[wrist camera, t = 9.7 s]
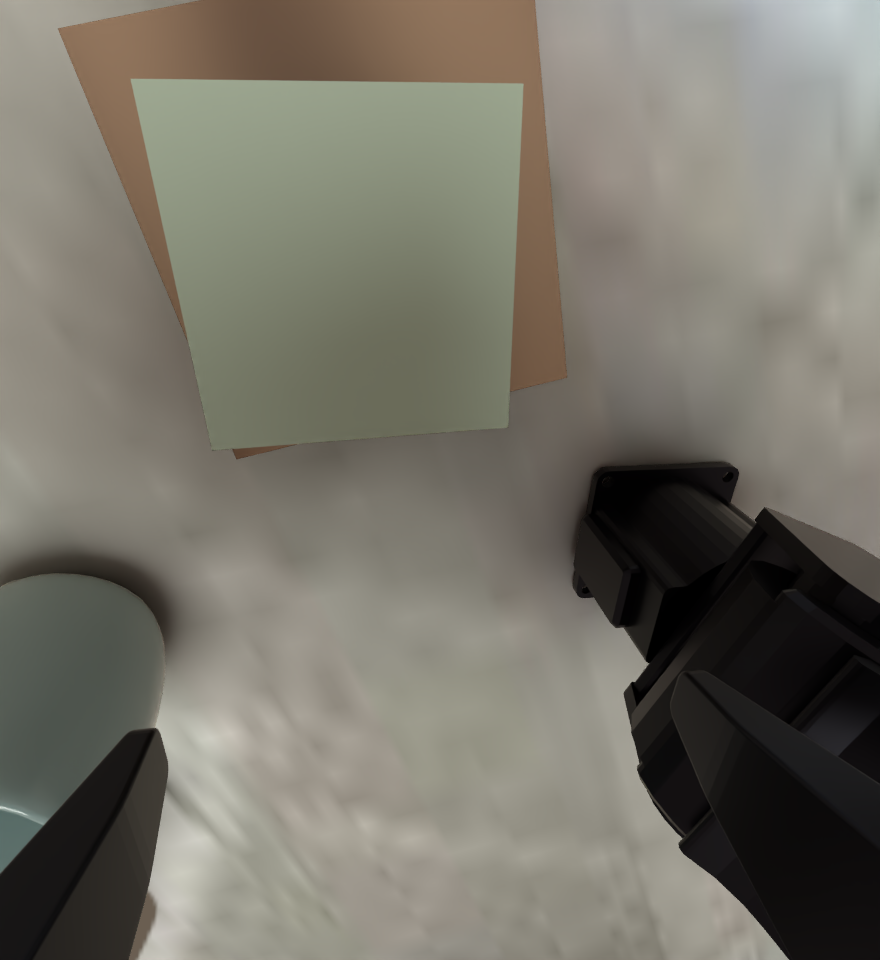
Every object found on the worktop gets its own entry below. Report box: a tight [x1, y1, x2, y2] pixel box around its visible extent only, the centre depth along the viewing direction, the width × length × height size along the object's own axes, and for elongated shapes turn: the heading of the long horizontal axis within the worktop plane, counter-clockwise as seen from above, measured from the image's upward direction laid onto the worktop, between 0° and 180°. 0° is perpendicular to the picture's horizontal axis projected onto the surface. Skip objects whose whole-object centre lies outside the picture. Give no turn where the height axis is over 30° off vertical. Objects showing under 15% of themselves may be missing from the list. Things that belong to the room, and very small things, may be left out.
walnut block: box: [58, 0, 567, 459], centre depth 15 cm, size 9×9×6 cm
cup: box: [0, 573, 166, 873], centre depth 18 cm, size 8×8×10 cm
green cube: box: [131, 79, 524, 451], centre depth 11 cm, size 5×5×5 cm
